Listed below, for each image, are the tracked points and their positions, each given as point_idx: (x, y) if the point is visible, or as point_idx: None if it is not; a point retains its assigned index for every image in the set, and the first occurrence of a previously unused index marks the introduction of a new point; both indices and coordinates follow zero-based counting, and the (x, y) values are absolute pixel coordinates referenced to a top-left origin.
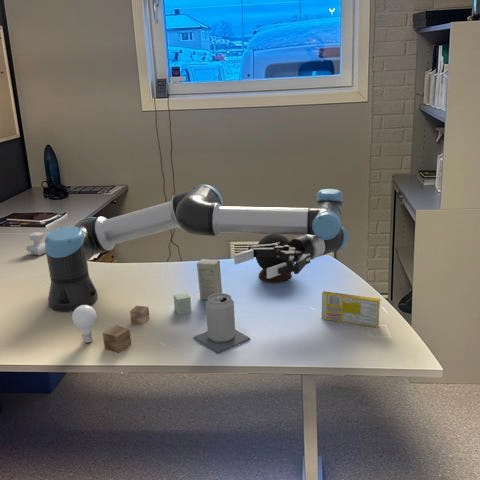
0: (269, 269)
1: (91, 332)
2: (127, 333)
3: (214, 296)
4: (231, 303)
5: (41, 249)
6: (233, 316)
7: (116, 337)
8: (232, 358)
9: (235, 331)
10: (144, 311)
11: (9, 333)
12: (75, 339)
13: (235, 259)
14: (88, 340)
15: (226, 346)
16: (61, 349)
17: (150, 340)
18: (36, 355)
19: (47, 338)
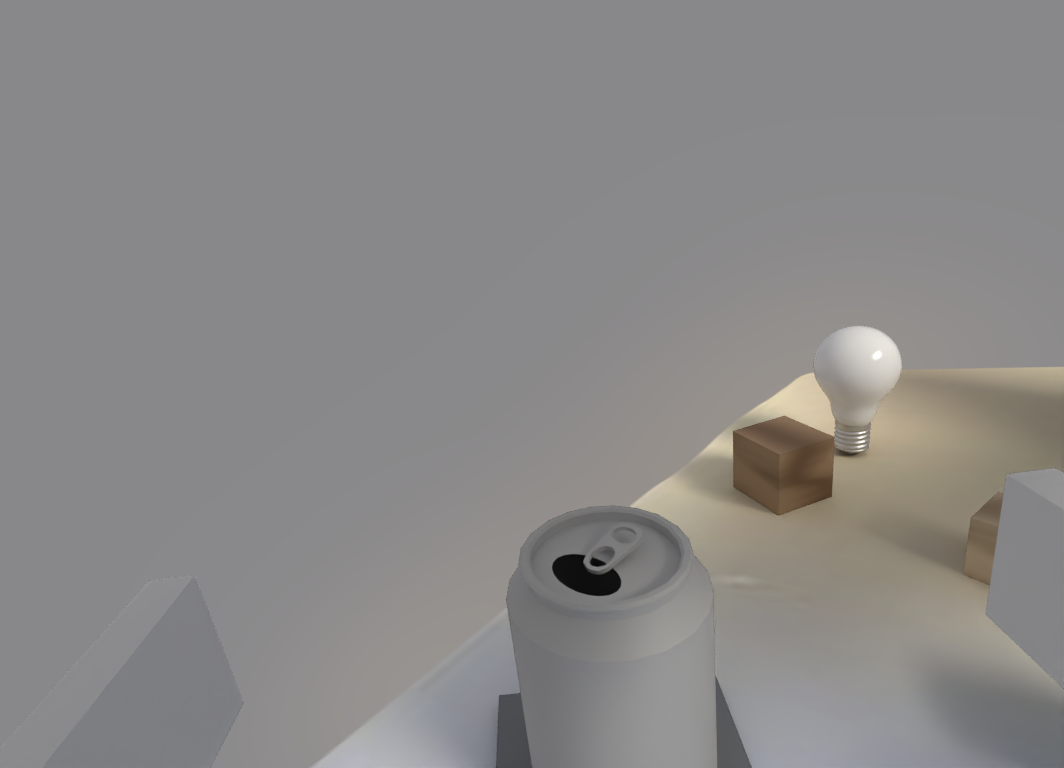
0: (139, 600)
1: (860, 431)
2: (769, 461)
3: (637, 531)
4: (526, 615)
5: None
6: (533, 710)
7: (734, 433)
8: (415, 739)
9: None
10: (997, 529)
11: (972, 372)
12: (884, 438)
13: (1007, 541)
14: (835, 440)
15: (513, 755)
16: (827, 419)
17: (786, 558)
18: (814, 395)
19: (913, 407)
